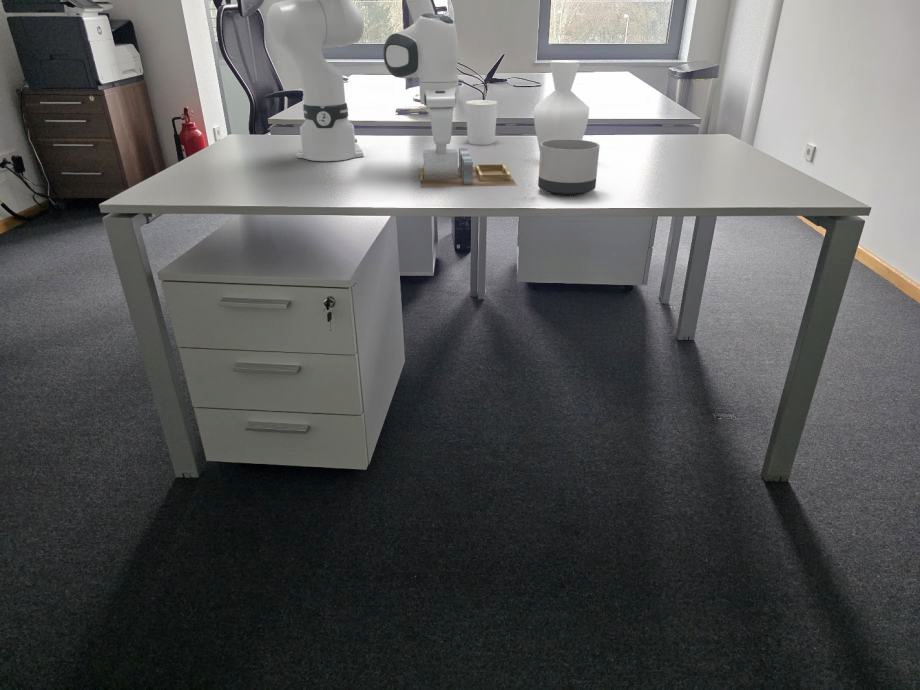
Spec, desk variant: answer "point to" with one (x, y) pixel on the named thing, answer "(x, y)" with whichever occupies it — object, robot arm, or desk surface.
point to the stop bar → (440, 164)
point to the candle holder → (481, 121)
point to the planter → (568, 166)
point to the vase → (561, 107)
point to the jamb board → (460, 184)
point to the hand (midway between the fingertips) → (441, 157)
